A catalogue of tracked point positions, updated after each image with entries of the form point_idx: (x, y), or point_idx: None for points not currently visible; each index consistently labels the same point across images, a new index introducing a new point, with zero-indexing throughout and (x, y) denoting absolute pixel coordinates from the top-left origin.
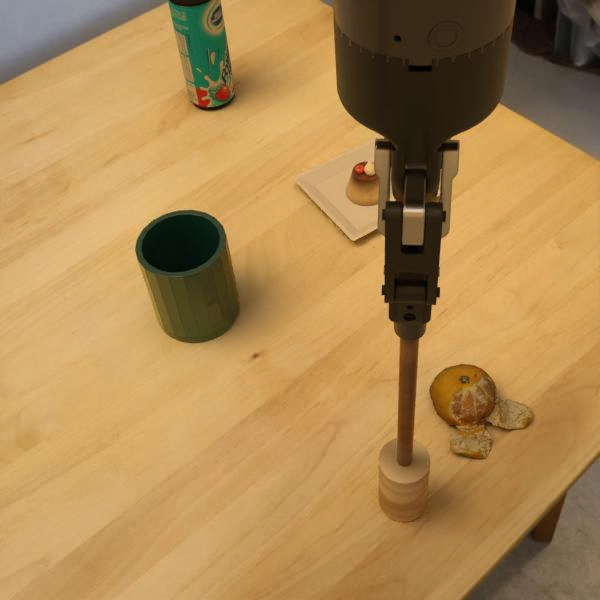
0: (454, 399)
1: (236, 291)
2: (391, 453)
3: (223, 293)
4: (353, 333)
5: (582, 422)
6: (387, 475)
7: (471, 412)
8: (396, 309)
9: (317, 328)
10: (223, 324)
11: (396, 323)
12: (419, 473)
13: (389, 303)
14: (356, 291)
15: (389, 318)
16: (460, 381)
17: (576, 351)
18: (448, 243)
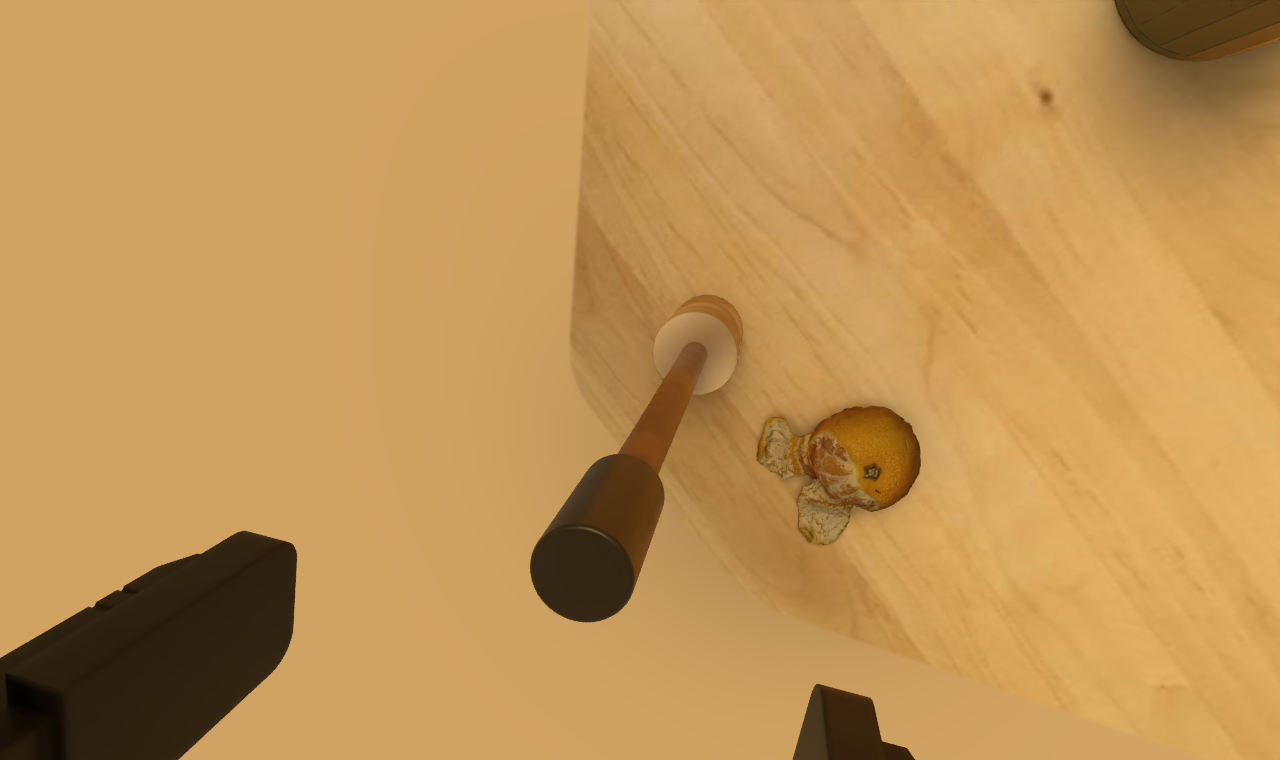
0: (839, 447)
1: (1224, 48)
2: (708, 335)
3: (1205, 11)
4: (1053, 295)
5: (795, 603)
6: (669, 322)
7: (818, 465)
8: (97, 603)
9: (1084, 227)
10: (1140, 22)
11: (196, 556)
12: (667, 373)
13: (172, 574)
14: (1163, 313)
15: (243, 532)
16: (870, 465)
17: (923, 637)
18: (1240, 508)
